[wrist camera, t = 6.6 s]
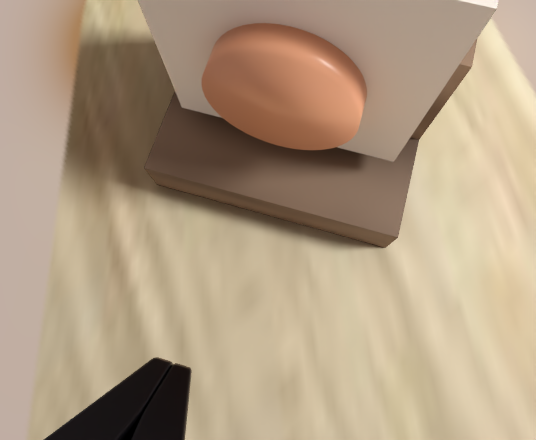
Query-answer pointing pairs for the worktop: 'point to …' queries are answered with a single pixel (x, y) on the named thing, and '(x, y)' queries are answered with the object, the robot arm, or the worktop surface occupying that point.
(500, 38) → the worktop surface
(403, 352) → the worktop surface
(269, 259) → the worktop surface
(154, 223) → the worktop surface
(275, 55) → the button plate
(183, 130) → the brown wooden stand
